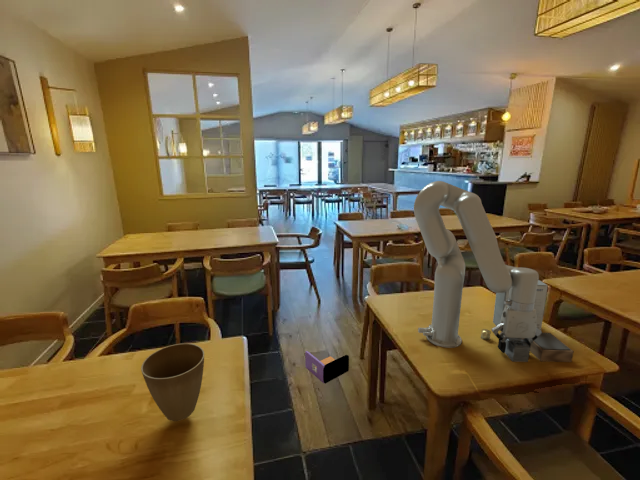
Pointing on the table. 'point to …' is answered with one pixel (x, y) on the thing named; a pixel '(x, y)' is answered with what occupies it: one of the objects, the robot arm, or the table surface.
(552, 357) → the stand
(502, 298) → the hard drive box
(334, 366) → the miniature room corner
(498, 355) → the table surface
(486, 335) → the brass bushing
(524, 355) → the housing
